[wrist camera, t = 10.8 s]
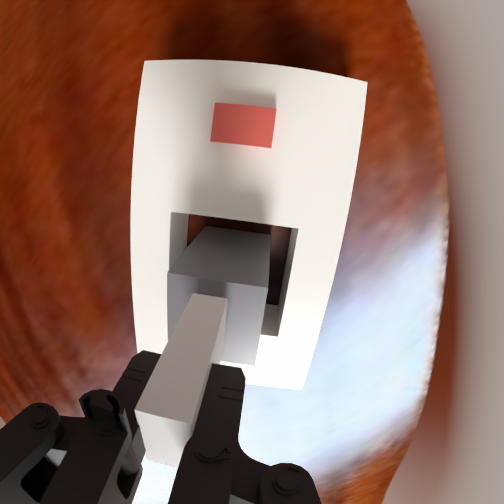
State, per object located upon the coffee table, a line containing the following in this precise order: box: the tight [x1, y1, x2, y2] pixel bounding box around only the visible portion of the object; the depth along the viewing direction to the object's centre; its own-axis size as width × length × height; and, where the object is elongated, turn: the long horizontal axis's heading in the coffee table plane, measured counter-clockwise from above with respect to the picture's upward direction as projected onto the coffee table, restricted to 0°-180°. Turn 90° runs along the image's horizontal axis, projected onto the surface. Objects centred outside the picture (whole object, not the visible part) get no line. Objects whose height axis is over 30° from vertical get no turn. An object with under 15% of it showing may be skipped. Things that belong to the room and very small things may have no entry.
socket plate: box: [131, 60, 367, 390], centre depth 18 cm, size 20×12×5 cm, turn 173°
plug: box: [167, 226, 271, 366], centre depth 18 cm, size 4×4×8 cm
